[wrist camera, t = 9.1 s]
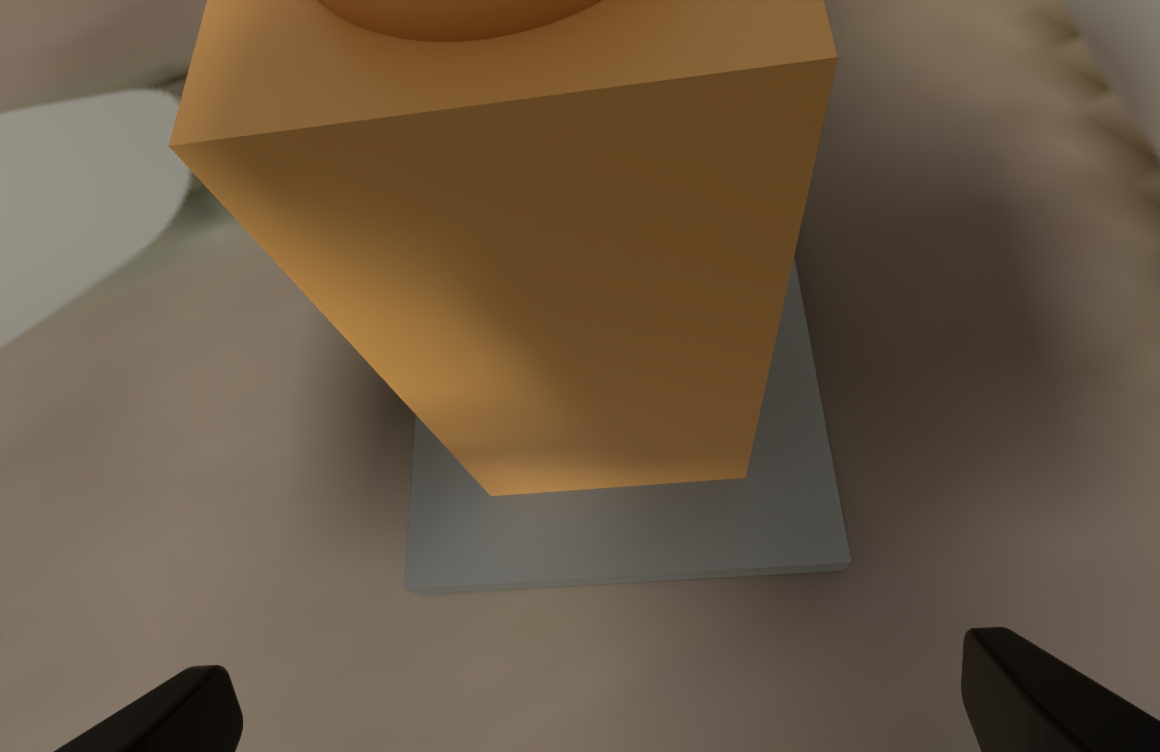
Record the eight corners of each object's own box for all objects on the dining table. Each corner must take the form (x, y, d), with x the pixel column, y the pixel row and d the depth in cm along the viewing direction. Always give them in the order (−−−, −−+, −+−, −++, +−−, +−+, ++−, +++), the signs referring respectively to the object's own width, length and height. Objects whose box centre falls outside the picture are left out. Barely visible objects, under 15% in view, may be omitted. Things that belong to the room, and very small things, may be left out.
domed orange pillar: (745, 477, 17) (863, -57, 5) (490, 496, 18) (88, 58, 6) (716, 259, 19) (751, -429, 8) (494, 282, 20) (220, -319, 8)
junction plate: (843, 570, 17) (891, 524, 13) (418, 594, 18) (337, 559, 14) (778, 213, 21) (798, 93, 17) (438, 251, 22) (381, 147, 18)
